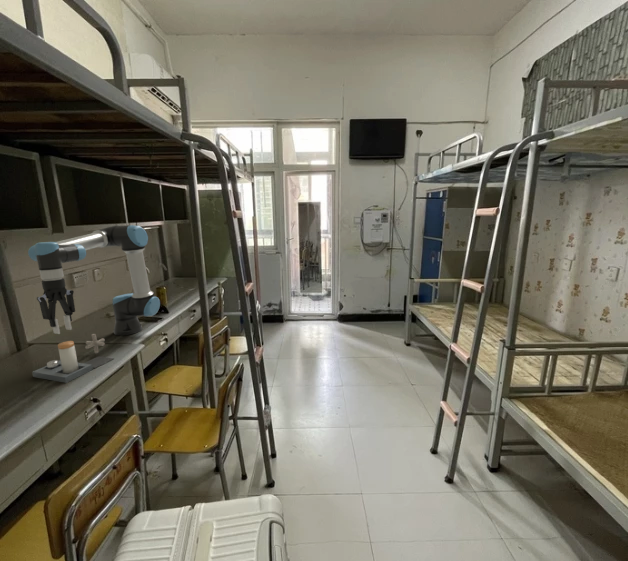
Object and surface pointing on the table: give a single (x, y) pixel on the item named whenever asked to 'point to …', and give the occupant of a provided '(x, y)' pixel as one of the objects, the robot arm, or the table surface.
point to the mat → (98, 361)
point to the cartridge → (68, 357)
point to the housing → (61, 372)
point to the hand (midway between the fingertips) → (63, 331)
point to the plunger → (52, 364)
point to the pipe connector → (95, 343)
